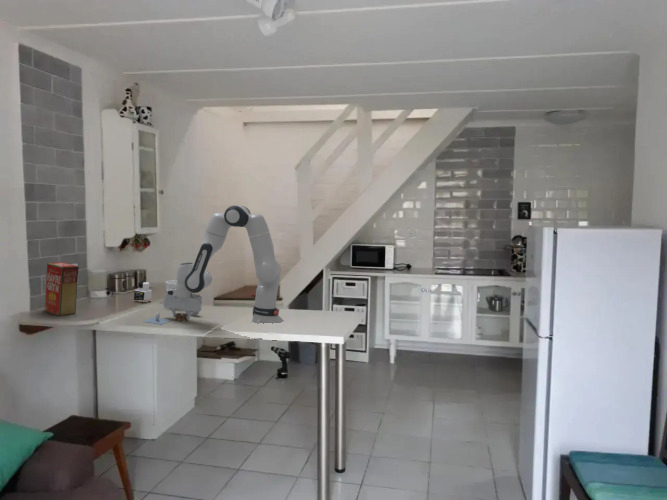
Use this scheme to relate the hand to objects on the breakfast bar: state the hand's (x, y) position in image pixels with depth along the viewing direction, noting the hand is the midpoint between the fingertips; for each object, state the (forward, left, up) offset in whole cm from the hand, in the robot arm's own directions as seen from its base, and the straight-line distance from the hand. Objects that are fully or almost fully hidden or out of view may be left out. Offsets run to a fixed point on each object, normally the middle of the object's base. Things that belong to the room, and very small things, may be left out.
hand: (181, 317), depth 263 cm
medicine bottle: (+38, -29, -2) cm, 48 cm away
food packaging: (+58, +17, -2) cm, 60 cm away
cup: (+15, -23, -2) cm, 28 cm away
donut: (0, -13, -2) cm, 13 cm away
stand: (0, 0, -2) cm, 2 cm away
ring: (0, 0, -1) cm, 1 cm away
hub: (+9, +9, -2) cm, 13 cm away
